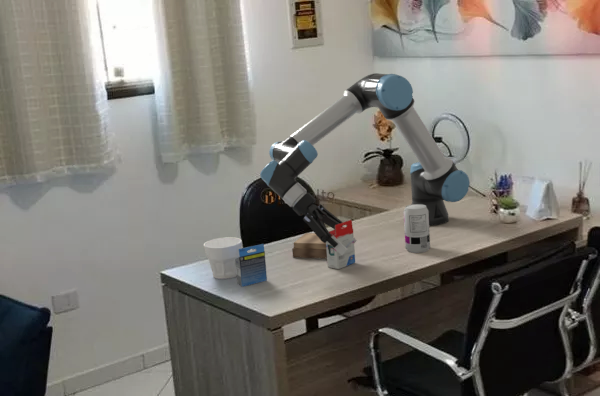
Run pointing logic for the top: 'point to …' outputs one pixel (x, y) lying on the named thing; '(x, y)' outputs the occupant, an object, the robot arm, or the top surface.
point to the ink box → (347, 240)
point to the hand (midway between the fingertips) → (349, 247)
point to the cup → (223, 256)
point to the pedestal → (309, 247)
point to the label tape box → (251, 265)
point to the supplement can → (416, 228)
